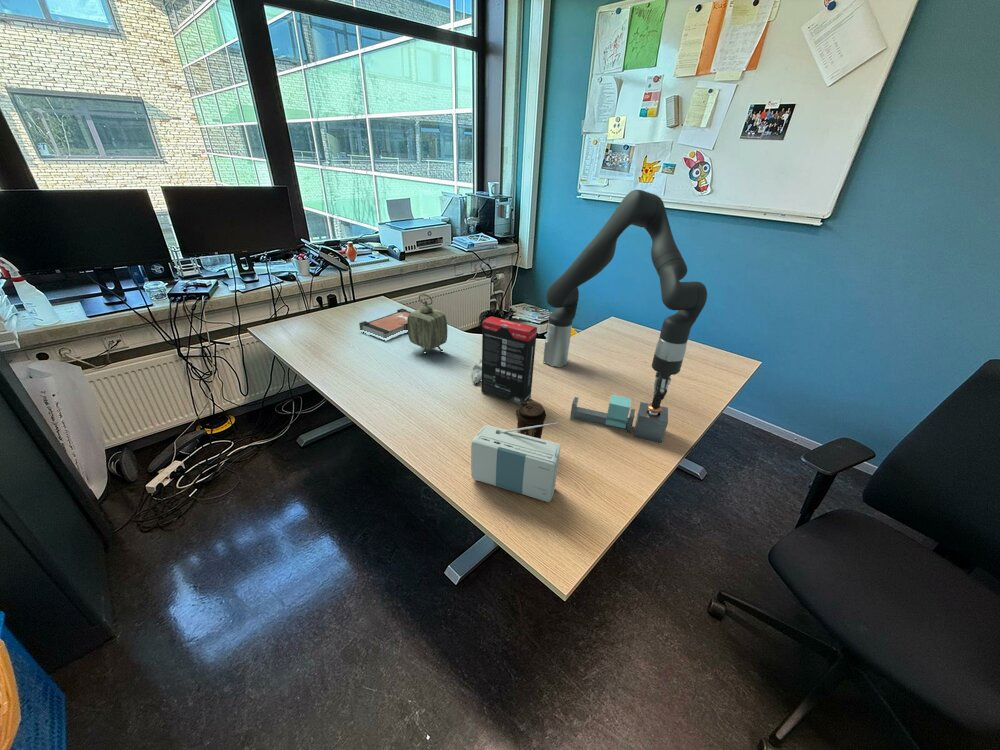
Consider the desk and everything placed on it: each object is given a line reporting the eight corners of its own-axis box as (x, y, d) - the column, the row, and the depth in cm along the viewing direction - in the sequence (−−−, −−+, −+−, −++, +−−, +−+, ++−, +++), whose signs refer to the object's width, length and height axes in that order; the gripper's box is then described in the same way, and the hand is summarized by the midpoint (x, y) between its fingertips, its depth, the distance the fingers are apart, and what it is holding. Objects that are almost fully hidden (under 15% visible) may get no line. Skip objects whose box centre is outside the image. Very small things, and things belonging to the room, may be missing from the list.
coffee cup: (512, 436, 117) (514, 399, 111) (539, 435, 118) (543, 399, 112) (515, 455, 110) (518, 417, 104) (545, 454, 111) (549, 416, 104)
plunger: (642, 427, 119) (647, 408, 116) (643, 420, 122) (648, 402, 119) (656, 430, 118) (662, 411, 114) (657, 423, 121) (662, 404, 118)
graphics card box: (532, 398, 137) (538, 324, 124) (523, 407, 131) (529, 331, 118) (489, 385, 144) (491, 314, 131) (479, 393, 138) (480, 320, 125)
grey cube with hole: (633, 437, 119) (639, 415, 115) (635, 423, 126) (640, 401, 122) (661, 443, 117) (668, 421, 113) (661, 428, 123) (667, 407, 120)
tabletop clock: (448, 352, 166) (446, 295, 154) (434, 360, 159) (430, 300, 147) (422, 344, 173) (418, 288, 161) (407, 351, 166) (402, 293, 154)
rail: (569, 419, 126) (572, 403, 123) (572, 412, 130) (574, 396, 127) (630, 433, 121) (634, 417, 118) (631, 425, 125) (635, 409, 122)
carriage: (605, 423, 122) (609, 403, 118) (607, 414, 126) (611, 394, 123) (625, 428, 120) (630, 407, 117) (626, 419, 125) (631, 398, 121)
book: (386, 342, 174) (385, 332, 172) (360, 333, 183) (359, 323, 180) (428, 325, 193) (427, 316, 191) (403, 317, 202) (402, 308, 199)
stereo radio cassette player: (469, 482, 100) (469, 418, 91) (482, 462, 107) (483, 400, 97) (549, 507, 94) (558, 440, 84) (557, 484, 101) (566, 420, 91)
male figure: (510, 339, 157) (485, 368, 138) (510, 360, 163) (485, 391, 143) (485, 334, 161) (457, 362, 141) (485, 354, 166) (458, 384, 146)
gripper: (655, 342, 115) (643, 393, 123) (654, 361, 104) (640, 415, 112) (682, 347, 113) (668, 398, 121) (684, 366, 102) (668, 421, 110)
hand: (655, 406), depth 117 cm, fingers closed
